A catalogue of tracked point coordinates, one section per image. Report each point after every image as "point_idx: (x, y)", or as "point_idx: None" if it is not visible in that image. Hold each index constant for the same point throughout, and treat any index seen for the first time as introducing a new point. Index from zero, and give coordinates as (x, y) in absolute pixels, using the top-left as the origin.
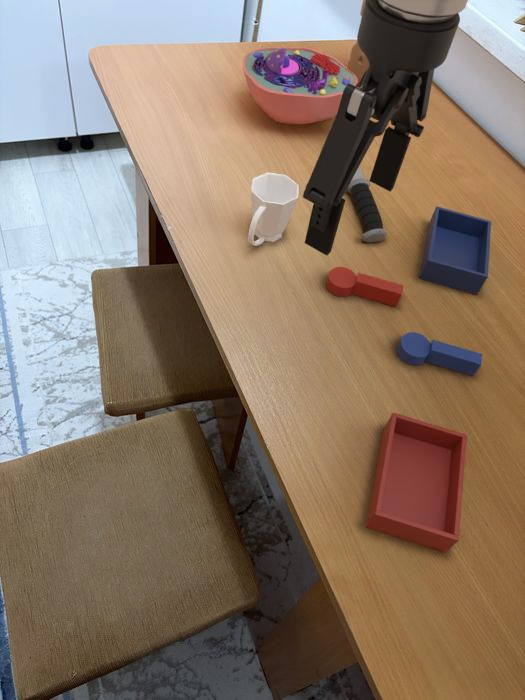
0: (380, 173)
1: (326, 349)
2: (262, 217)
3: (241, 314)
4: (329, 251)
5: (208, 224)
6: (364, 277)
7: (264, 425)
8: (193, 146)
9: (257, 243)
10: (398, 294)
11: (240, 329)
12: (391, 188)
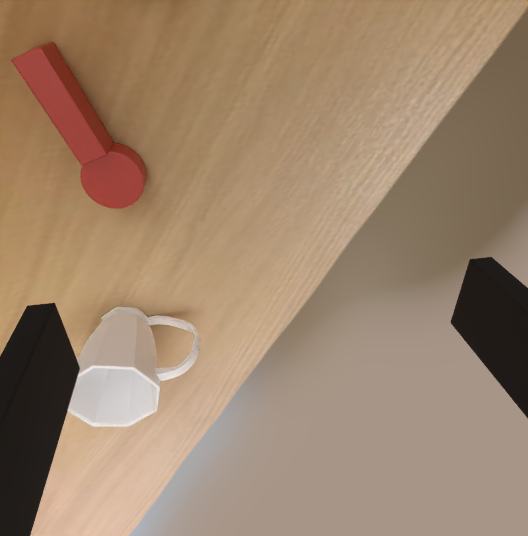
0: (57, 384)
1: (266, 96)
2: (156, 358)
3: (298, 244)
4: (488, 263)
5: (190, 376)
6: (81, 147)
7: (463, 83)
8: (88, 473)
9: (174, 320)
10: (46, 53)
11: (323, 227)
12: (46, 311)
